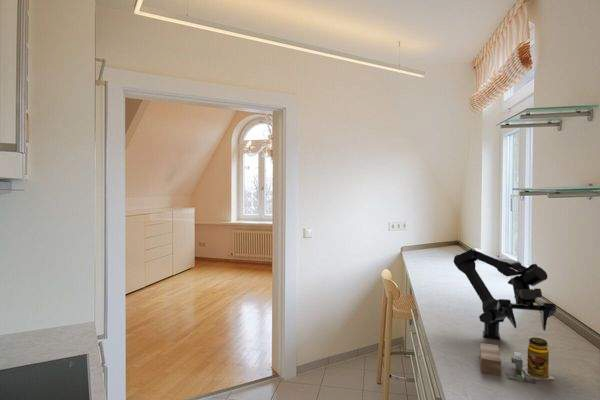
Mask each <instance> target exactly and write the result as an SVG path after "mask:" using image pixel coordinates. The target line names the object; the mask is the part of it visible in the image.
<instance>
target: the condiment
mask: <svg viewBox="0 0 600 400" xmlns="http://www.w3.org/2000/svg"><path fill="white" fill-rule="evenodd" d="M528 342H529V343H528V346H527V356H526V357H527V364H526V365H527V366H523V367H522V372H523V373H524V372H525V374H526V375H528V377H530V378H534V379H535V380H556V378H555V377H553V375H551V374H549V362H550V361H549V360H550V359H549V357H550V356H549V354H550V353H549V352H550V350H549V349H548V342H547V340H546V339H543V338H541V337H530V338H529V339H528Z"/></svg>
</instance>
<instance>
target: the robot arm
mask: <svg viewBox="0 0 600 400" xmlns="http://www.w3.org/2000/svg"><path fill="white" fill-rule="evenodd" d="M453 258H454V259H453V264H454V265H455V267H456V268H457V269H458V270H459V271H460V272H461V273H463V274H465V276H466V278H467V279H468V281H469V282H470V283H469V284H471V286H472V288H473V289H474V291H475V293H476V295H477V296H478V298H479V300H480V301H481V302H482V303H481V305H482V311H483V312H482V313H481V314H480V315H479V316H478V318H479V321H480V322H482V323H483V325H484V326H483V331H482V335H483V336H482V337H483V338H489V339H495V340H501V334H500V323H504V321H505V319H506V318H507V319H508V320H509V322H510V323H511V325H512V326H513V328H514V329H517V321H516V318H515V314H514V310H527V311H539V313H540V315H539V317H540V322H541V328H542V330H543V332H545V331H546V329H547V322H548V318H549V319H550V318H551V317H553V316H554V315H555V313H556V311H557V306H556V304H555V303H554V302H551V301H550V302H549V301H548V302H547V301H542V302H541V304H540V305H539V304H536V300H538V299H541V298H542V297H543V294H542V290H541V288H537V287H535V286H537V285H539V284H541V283H543V282H544V281H546V280H548V273H547V272H546V271H545V270H544V269H543V268H542V267H541V266H538V265H537V263H533V264H530V265H529V266H528V267H526V266H524V265H523V264H522V263H521V262H520V261H517V260H514V259H507V258H503V257H499V256H497V255H495V254H492V253H490V252H487V251H486V250H482V249H481V248H479V247H475V248H470V249H468V250H467V251H464V252H462V253H460V254H456V255H455V256H454V257H453ZM478 260H479V261H481V262H482V263H484V264H487V265H489V266H492V267H494V268H496V270H497V271H498V272H499V273H500V274H502V275H503V276H505V277H511V278H510V279H508V282H507V284H508V285H511V286H512V289H513V293H514V299H515V303H512V301H511V299H506V298H503V299H502V298H499V299H496V298H494V297H493V295H492V294H491V292H490V290H489V288H488V287H487V285H486V284H485V282H484V281H483V279H482V277H481V276H480V275H479V273H478V270H477V269H476V261H478ZM531 287H535V288H534V289H531ZM513 309H514V310H513Z"/></svg>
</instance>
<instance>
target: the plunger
mask: <svg viewBox="0 0 600 400" xmlns="http://www.w3.org/2000/svg"><path fill="white" fill-rule="evenodd" d="M510 361H511V362H510V363H511V364H514V368H515V369H514V370H516V371H520V375H521V376H522V378H523V379H524V371H523V370H522V367H524V365H523V357H522V354H521V352H517V351H513V357H512V356H510Z"/></svg>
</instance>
